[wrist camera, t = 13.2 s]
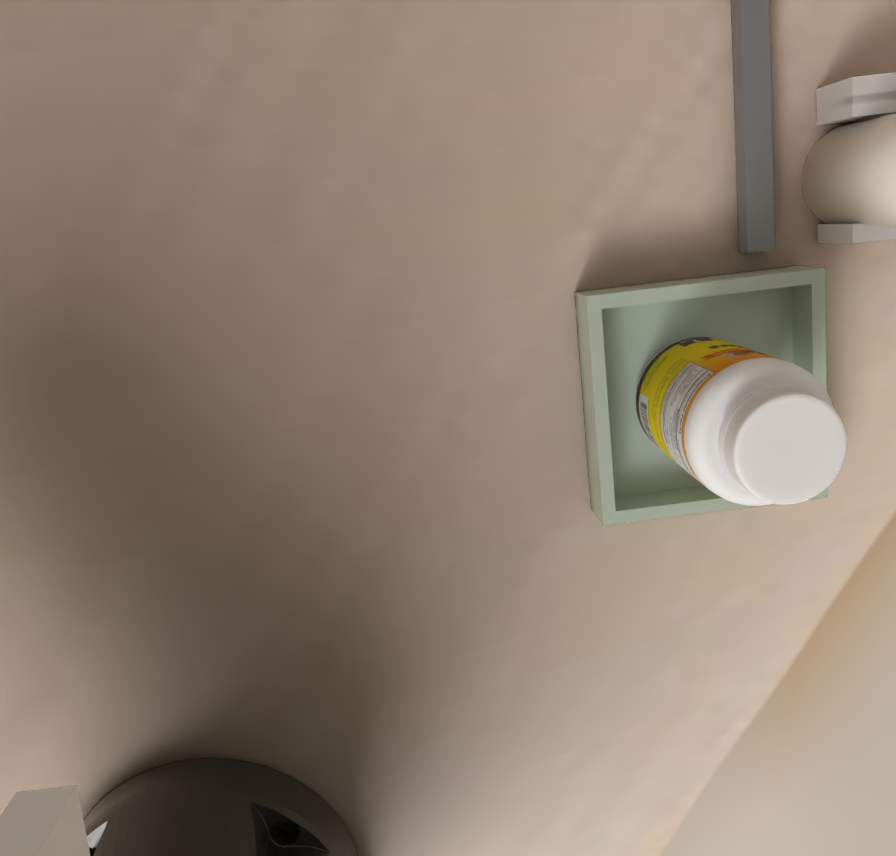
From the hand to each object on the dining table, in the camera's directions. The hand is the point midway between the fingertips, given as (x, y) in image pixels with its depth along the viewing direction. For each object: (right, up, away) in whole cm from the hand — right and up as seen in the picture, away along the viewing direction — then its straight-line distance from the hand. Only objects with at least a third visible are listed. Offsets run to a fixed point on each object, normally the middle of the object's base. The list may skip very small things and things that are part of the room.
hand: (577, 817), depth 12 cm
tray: (+10, +7, +28) cm, 30 cm away
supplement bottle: (+9, +7, +27) cm, 30 cm away
